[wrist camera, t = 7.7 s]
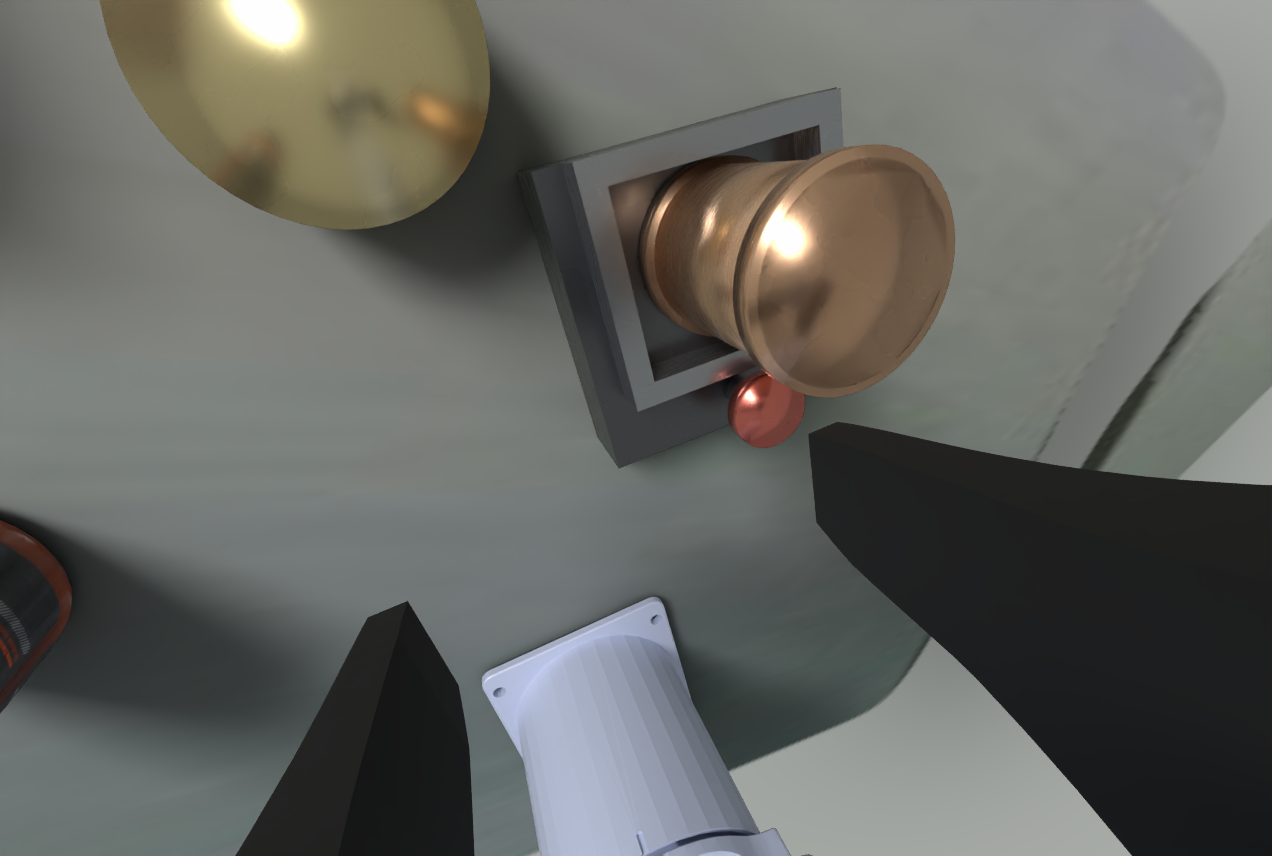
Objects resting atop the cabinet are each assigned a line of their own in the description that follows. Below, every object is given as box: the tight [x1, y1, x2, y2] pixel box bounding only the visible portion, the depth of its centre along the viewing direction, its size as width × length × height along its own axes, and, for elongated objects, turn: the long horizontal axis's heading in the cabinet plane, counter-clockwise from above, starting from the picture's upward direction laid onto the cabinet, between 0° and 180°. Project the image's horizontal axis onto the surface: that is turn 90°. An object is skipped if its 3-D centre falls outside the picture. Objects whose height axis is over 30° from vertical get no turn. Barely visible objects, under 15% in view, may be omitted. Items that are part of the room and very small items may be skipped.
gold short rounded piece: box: [100, 0, 490, 230], centre depth 12 cm, size 6×6×4 cm
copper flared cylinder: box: [640, 145, 955, 398], centre depth 14 cm, size 5×5×6 cm
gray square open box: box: [516, 87, 843, 468], centre depth 17 cm, size 9×9×5 cm
